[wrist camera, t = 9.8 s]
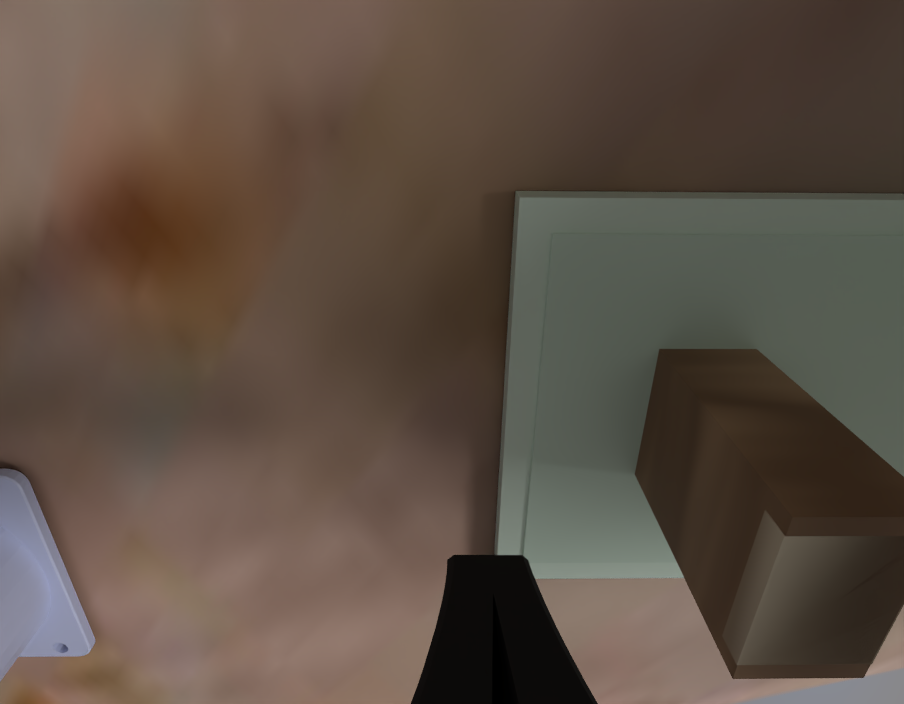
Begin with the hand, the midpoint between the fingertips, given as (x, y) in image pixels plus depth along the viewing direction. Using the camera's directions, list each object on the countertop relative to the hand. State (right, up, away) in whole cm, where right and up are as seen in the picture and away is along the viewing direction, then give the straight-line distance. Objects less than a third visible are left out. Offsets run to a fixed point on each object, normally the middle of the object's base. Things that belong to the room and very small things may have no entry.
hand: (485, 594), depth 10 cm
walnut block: (+6, +3, +5) cm, 8 cm away
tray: (+8, +3, +6) cm, 10 cm away
